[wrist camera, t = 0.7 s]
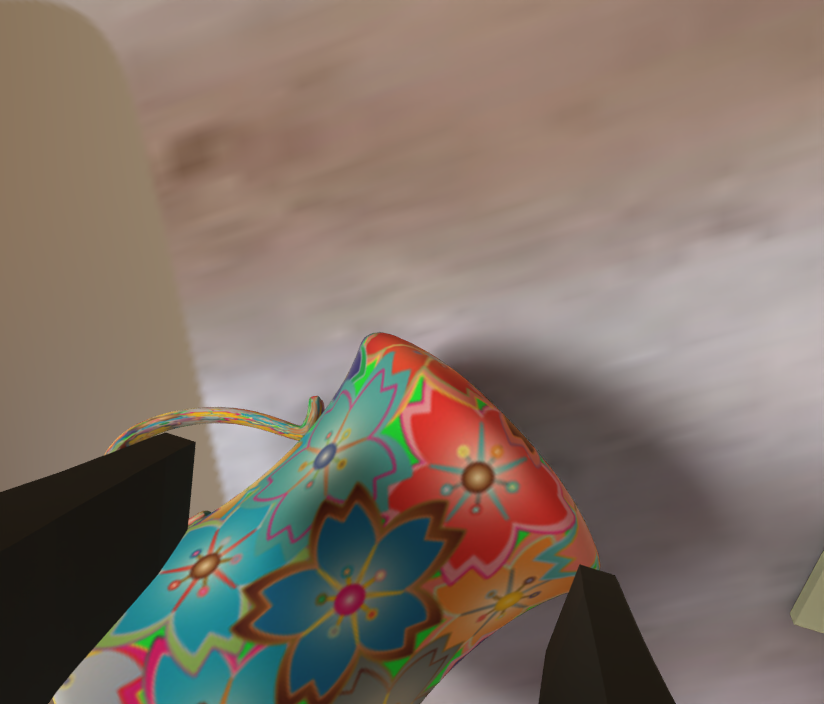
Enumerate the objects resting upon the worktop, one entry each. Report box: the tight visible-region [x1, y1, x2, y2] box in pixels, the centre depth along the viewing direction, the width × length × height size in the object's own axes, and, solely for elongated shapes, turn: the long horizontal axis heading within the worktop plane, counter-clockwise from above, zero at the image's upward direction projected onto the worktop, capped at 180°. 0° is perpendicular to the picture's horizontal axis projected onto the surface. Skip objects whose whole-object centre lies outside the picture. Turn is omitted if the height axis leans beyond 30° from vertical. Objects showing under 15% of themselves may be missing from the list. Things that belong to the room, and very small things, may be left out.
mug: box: [53, 332, 600, 704], centre depth 18 cm, size 12×9×11 cm
